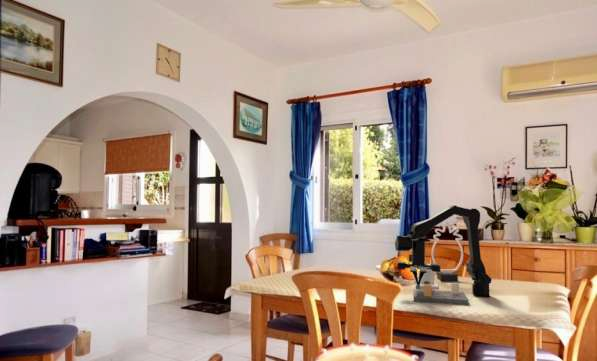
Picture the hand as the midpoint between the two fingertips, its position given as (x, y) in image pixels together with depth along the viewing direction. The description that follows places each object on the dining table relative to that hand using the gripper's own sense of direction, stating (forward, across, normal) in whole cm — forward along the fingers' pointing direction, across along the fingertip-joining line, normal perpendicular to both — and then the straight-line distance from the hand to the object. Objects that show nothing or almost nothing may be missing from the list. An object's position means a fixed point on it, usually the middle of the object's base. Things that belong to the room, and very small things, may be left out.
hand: (418, 285), depth 197 cm
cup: (+5, -4, -15) cm, 16 cm away
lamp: (+4, -16, -44) cm, 47 cm away
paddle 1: (+2, -4, +8) cm, 9 cm away
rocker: (0, -4, 0) cm, 4 cm away
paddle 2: (+2, -16, 0) cm, 16 cm away
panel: (+4, -9, +4) cm, 11 cm away
